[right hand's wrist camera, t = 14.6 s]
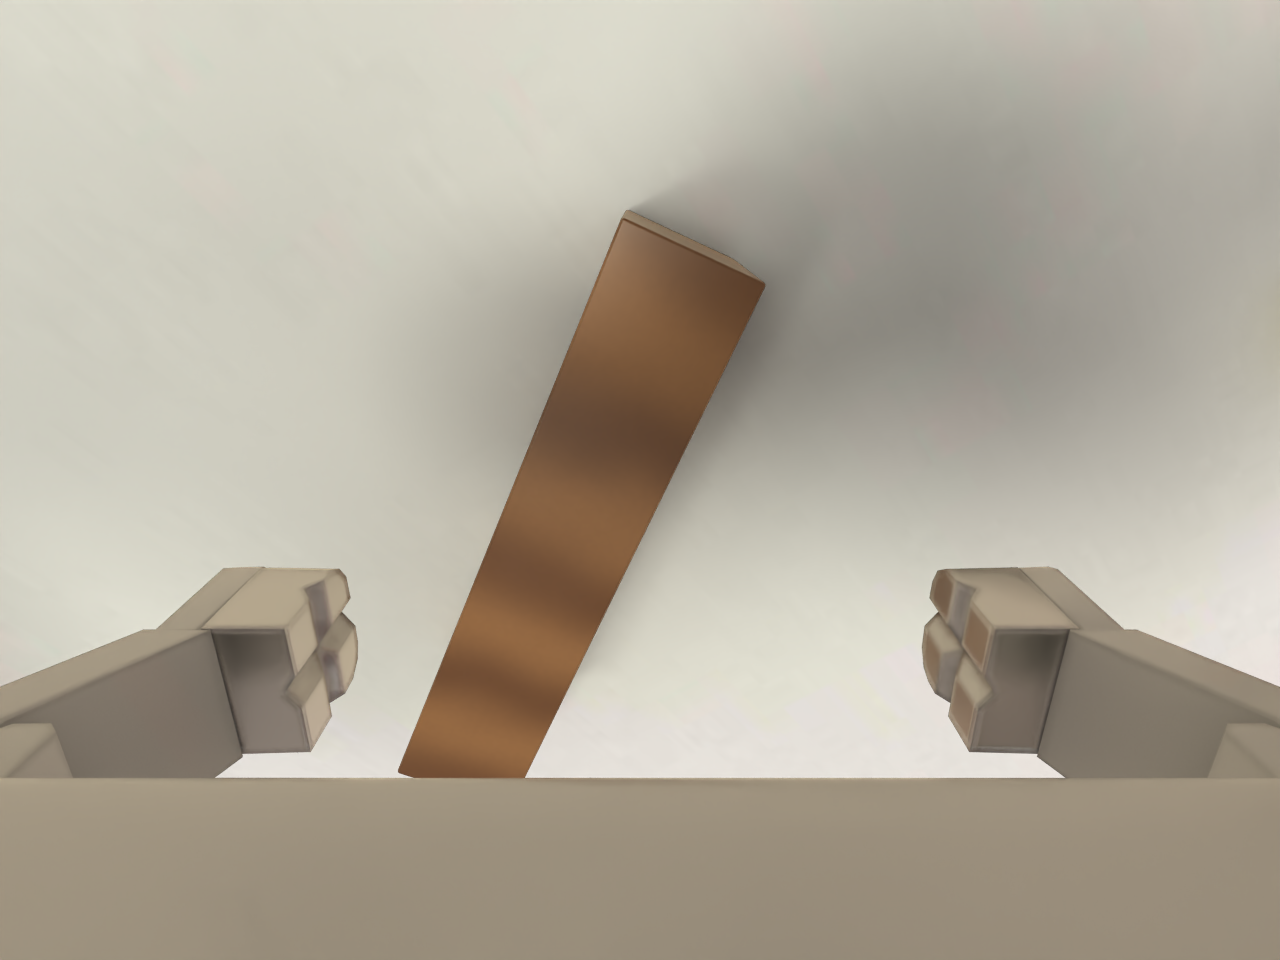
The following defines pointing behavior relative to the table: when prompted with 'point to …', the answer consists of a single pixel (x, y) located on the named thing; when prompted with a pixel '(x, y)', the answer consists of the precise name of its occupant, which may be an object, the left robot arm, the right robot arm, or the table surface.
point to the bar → (583, 496)
